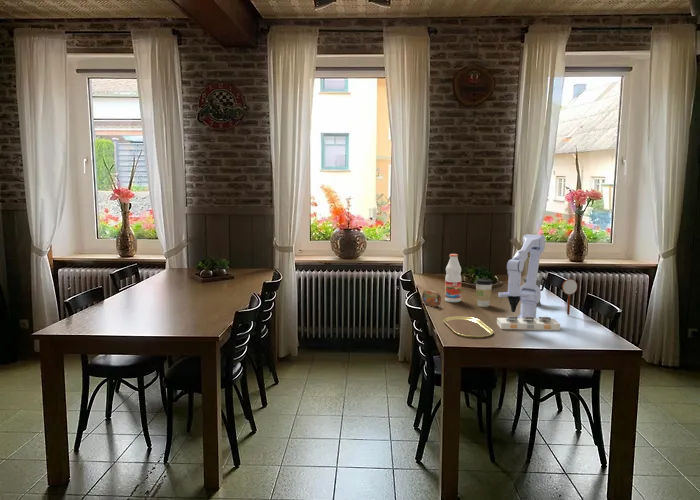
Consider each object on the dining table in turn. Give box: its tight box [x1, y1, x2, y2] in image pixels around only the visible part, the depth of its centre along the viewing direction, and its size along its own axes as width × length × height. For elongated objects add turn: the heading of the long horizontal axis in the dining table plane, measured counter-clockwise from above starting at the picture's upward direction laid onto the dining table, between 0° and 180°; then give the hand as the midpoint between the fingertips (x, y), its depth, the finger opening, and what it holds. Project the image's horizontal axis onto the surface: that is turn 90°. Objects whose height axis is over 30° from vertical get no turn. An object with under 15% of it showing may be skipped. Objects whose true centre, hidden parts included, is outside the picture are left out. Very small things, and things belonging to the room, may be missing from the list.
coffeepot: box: [522, 276, 547, 307], centre depth 310 cm, size 15×9×18 cm, turn 107°
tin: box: [421, 289, 442, 308], centre depth 308 cm, size 15×3×8 cm, turn 27°
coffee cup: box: [474, 278, 494, 308], centre depth 306 cm, size 10×10×15 cm
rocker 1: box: [505, 315, 518, 319], centre depth 263 cm, size 6×4×1 cm, turn 176°
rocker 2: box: [538, 316, 552, 320], centre depth 262 cm, size 6×4×1 cm, turn 176°
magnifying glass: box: [561, 278, 579, 317], centre depth 283 cm, size 9×2×20 cm, turn 96°
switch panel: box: [496, 317, 561, 331], centre depth 263 cm, size 10×28×4 cm, turn 86°
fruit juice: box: [444, 253, 462, 303], centre depth 317 cm, size 9×9×28 cm
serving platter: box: [443, 315, 494, 339], centre depth 262 cm, size 19×35×2 cm, turn 6°
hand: (513, 311), depth 260 cm, fingers closed
